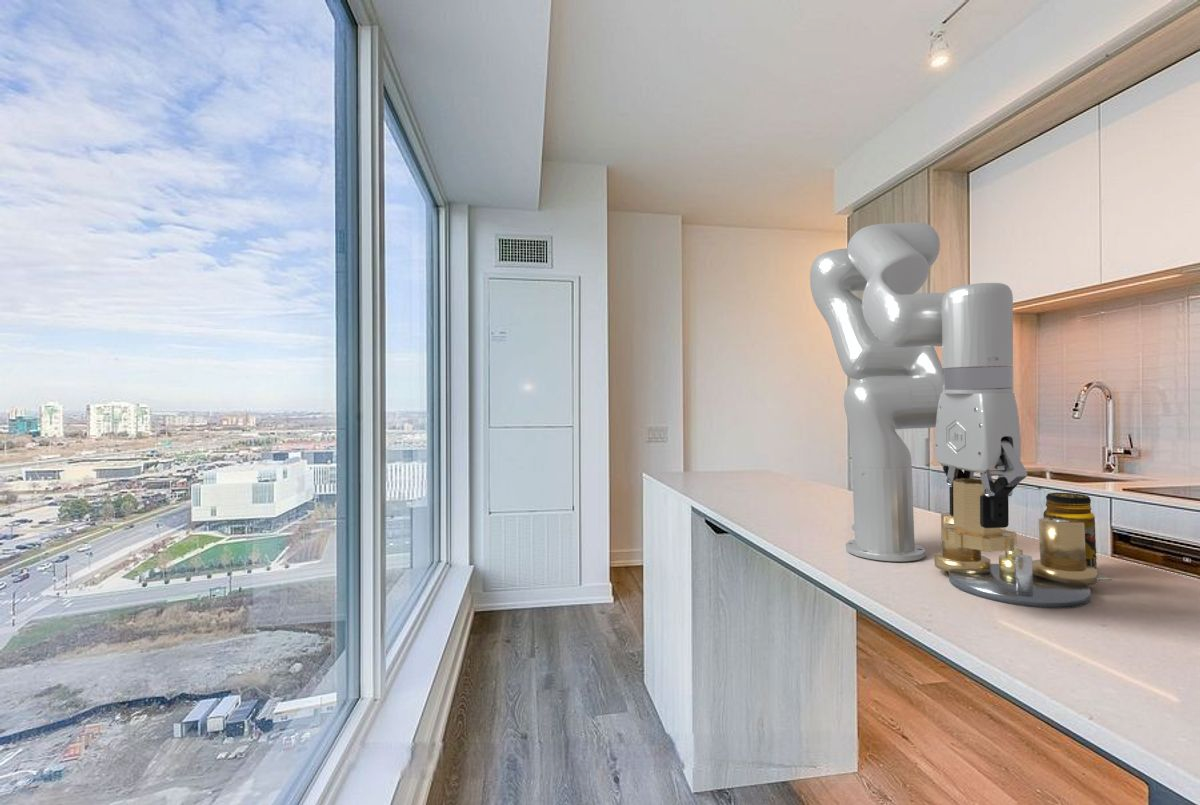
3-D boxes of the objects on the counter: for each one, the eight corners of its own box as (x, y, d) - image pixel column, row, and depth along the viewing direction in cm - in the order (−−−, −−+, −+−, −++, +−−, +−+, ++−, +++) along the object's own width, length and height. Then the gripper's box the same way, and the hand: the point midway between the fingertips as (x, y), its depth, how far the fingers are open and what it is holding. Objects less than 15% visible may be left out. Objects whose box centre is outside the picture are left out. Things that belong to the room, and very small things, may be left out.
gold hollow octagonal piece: (929, 535, 75) (929, 477, 75) (985, 533, 75) (985, 475, 75) (969, 552, 67) (968, 488, 67) (1031, 550, 67) (1031, 486, 67)
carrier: (919, 569, 88) (917, 511, 88) (1033, 565, 88) (1031, 507, 88) (1002, 610, 70) (999, 536, 70) (1145, 604, 70) (1142, 531, 70)
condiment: (1112, 580, 80) (1109, 498, 80) (1046, 578, 82) (1043, 498, 82) (1079, 566, 87) (1076, 490, 87) (1019, 564, 89) (1016, 490, 89)
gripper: (909, 382, 79) (910, 507, 80) (997, 382, 62) (998, 541, 63) (960, 380, 79) (961, 505, 80) (1062, 380, 62) (1062, 539, 63)
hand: (977, 519), depth 71 cm, fingers closed on gold hollow octagonal piece, 5 cm apart
